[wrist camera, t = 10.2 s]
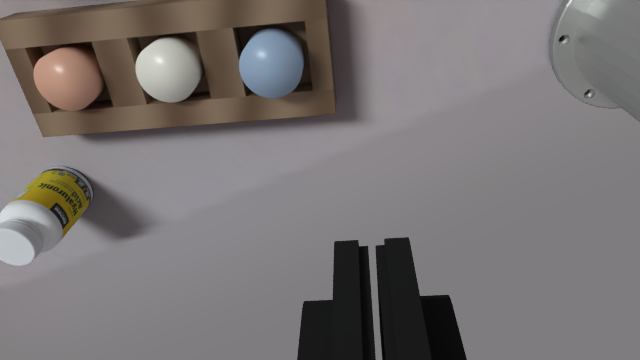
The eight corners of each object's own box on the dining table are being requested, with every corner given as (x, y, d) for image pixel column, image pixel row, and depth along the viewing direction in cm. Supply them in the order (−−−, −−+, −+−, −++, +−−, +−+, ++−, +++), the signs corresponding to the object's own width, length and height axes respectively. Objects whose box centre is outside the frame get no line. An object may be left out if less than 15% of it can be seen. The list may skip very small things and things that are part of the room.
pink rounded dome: (98, 40, 40) (81, 50, 37) (117, 95, 42) (102, 108, 40) (44, 45, 40) (23, 56, 38) (65, 99, 43) (47, 113, 40)
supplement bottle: (105, 191, 49) (56, 254, 41) (73, 217, 51) (20, 282, 43) (61, 154, 47) (0, 211, 39) (29, 182, 49) (-36, 243, 40)
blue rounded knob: (301, 23, 38) (297, 33, 35) (308, 82, 40) (305, 95, 37) (240, 29, 38) (233, 39, 35) (251, 87, 40) (245, 100, 38)
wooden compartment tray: (325, -19, 38) (324, -13, 35) (336, 100, 43) (335, 114, 40) (15, 13, 40) (-8, 21, 38) (60, 123, 45) (43, 137, 43)
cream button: (198, 30, 39) (188, 40, 37) (211, 87, 42) (202, 100, 39) (141, 36, 40) (127, 46, 37) (157, 91, 42) (145, 104, 39)
